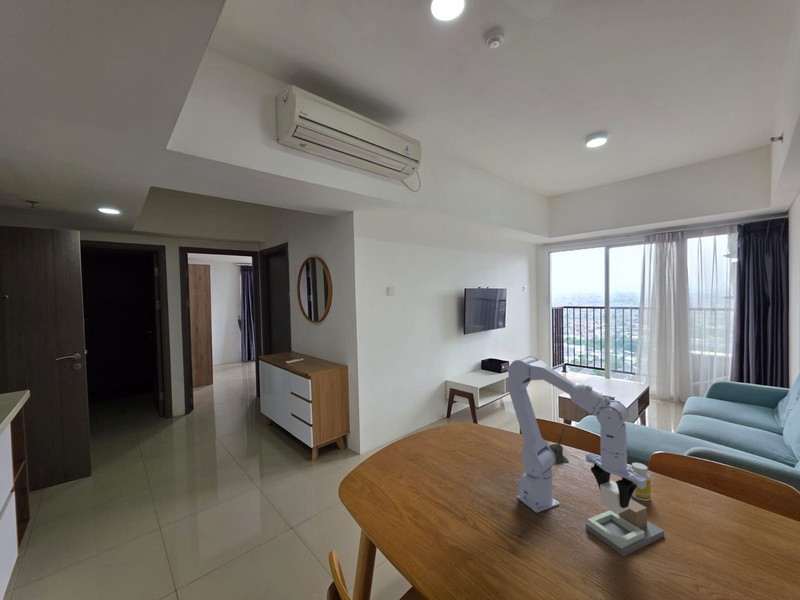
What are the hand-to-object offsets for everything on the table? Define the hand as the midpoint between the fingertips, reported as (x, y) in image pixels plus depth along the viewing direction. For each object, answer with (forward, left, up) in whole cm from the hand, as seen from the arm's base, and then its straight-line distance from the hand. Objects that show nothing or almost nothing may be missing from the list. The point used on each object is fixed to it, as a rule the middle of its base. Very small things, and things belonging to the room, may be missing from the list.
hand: (614, 500), depth 83 cm
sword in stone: (+18, +36, -10) cm, 42 cm away
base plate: (+3, 0, -9) cm, 10 cm away
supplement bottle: (+23, +8, -10) cm, 27 cm away
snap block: (0, 0, -1) cm, 1 cm away
